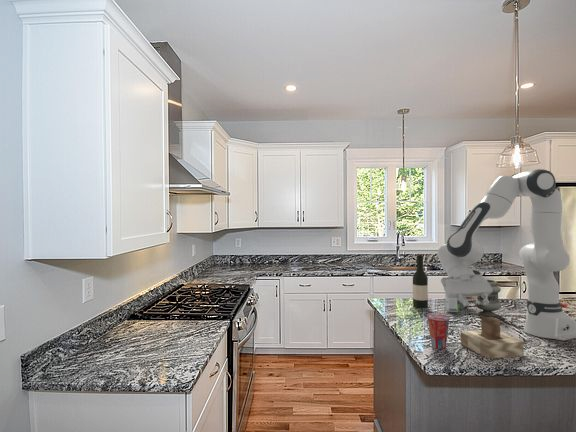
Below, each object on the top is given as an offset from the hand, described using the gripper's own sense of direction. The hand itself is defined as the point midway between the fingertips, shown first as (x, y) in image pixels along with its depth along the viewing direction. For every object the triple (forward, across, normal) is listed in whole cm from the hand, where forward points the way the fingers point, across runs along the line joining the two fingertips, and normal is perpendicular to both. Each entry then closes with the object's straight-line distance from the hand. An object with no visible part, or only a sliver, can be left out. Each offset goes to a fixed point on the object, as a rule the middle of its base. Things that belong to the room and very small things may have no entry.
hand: (477, 304), depth 144 cm
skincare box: (-25, +31, +48) cm, 62 cm away
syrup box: (-21, +22, +43) cm, 53 cm away
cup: (+11, -18, +11) cm, 24 cm away
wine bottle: (-30, +11, +52) cm, 62 cm away
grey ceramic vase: (-12, +34, +35) cm, 50 cm away
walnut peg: (+16, 0, +6) cm, 17 cm away
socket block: (+16, 0, +6) cm, 17 cm away
